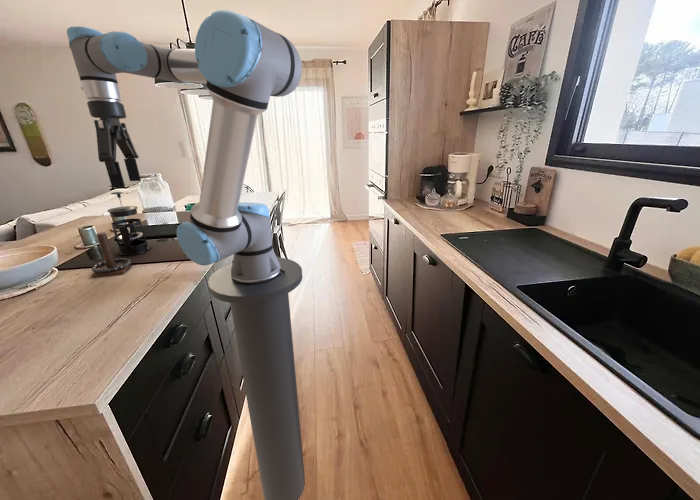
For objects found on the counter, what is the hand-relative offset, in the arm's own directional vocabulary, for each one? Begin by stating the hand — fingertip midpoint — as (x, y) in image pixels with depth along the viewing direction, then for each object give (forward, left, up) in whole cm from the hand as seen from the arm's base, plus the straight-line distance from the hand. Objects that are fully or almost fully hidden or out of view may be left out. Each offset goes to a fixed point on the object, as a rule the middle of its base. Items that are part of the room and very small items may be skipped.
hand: (127, 183), depth 83 cm
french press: (+12, -25, -29) cm, 40 cm away
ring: (+13, -8, -27) cm, 31 cm away
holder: (+13, -7, -29) cm, 32 cm away
